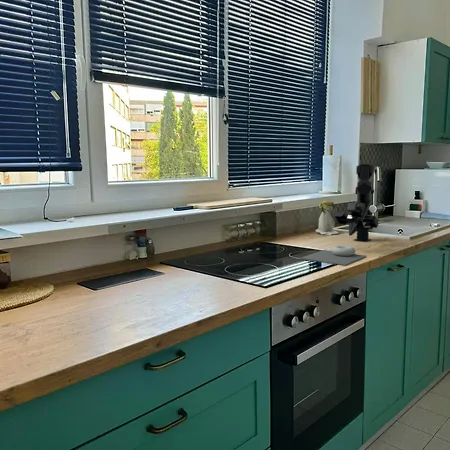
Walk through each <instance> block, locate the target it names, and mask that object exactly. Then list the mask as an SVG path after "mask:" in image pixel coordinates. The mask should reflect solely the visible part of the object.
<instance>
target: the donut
mask: <svg viewBox="0 0 450 450" xmlns="http://www.w3.org/2000/svg"><path fill="white" fill-rule="evenodd" d="M331 251H332V253H333V254H335V255H338V256H351V255H354V254H356V252H357V251H356V248H355V247H354V246H351V245H343V244H342V245H341V244H339V245H335V246H333V247H332V248H331Z"/></svg>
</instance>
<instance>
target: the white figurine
mask: <svg viewBox="0 0 450 450" xmlns="http://www.w3.org/2000/svg"><path fill="white" fill-rule="evenodd" d="M318 208H319V209H320V211H321V213H320V216H319V218H318V228H317V229H315V232H316V233H317V234H318V233H319V234H321V235H326V236H332V235H336V234H340V232H339V231H336V229H334V228H335V227H336V221H335V220H334V217H332V214H331V213H330V211H332V210H335V209H336V208H337V205H335V203H334V202H333V201H331V200H323V201H321V202H320V203H319V204H318Z"/></svg>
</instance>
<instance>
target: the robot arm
mask: <svg viewBox="0 0 450 450" xmlns="http://www.w3.org/2000/svg"><path fill="white" fill-rule="evenodd" d="M355 169H356V170H355V171H356V173H355V174H356V175H357V179H358V182H357V183H356V184H357V185H356V186H355V194H354V195H356V197H357V201H356V203H355V202H348V204H347V208H346V211H348V212H349V213H348V215H347V214H346V212H336V213H335V216H334V217H335V220H336V222H337V223H338V224H339V225H346V224H347V225H348V235H349V236H352V235H354V234H355V233H356V238H355V239H353V241H358V242H369V241H371V240H372V238H369V234H370V233H369V231H370V230H372V229H374V228H375V229H378V226H379V220H378V218H377V216H376V215H372V214H371V211H370V208H369V207H370V205H371V203H372V199H371V196H372V195H373V194H375V189H374V187H373V186H372V182H371V180H372V179H373V175H374V171H375V170H374V165H371V164H370V163H361V164H359V165H356V168H355Z"/></svg>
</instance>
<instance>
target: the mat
mask: <svg viewBox="0 0 450 450" xmlns="http://www.w3.org/2000/svg"><path fill="white" fill-rule="evenodd" d="M365 258H367V255H363V254H357V253H355V254H354V255H351V256H338V255H335V254H333V253H332V250H330V249H329V250H328V249H323V250H319V251H317V252H314V253H311V254H308V255H305V256H302V257H300V259H301V260H307V261H312V262H317V261H318V262H317V263H324V262H326V263H325V264H330V263H333V264H332V265H336V264H337V266H343V267H346V266H349V265H351V264H353V263H356V262H358V261H360V260H362V259H365Z"/></svg>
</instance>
